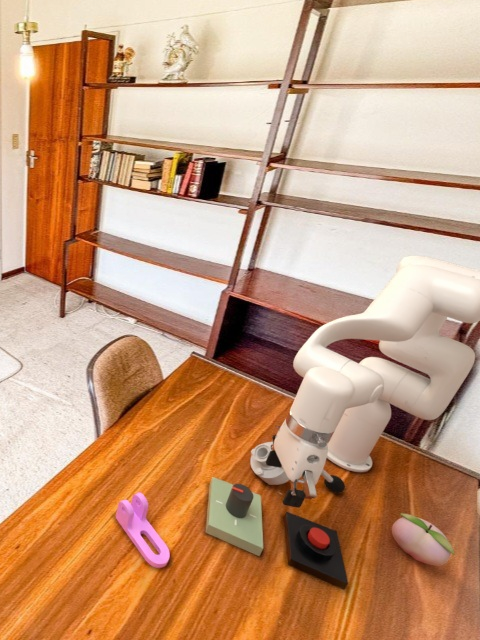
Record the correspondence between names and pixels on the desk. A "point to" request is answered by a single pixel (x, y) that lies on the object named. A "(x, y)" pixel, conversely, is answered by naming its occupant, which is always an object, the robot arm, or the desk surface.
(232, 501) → the dial knob
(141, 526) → the bracket
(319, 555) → the button block
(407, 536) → the decorative fruit
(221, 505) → the dial panel
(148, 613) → the desk surface
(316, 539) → the red button
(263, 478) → the valve
